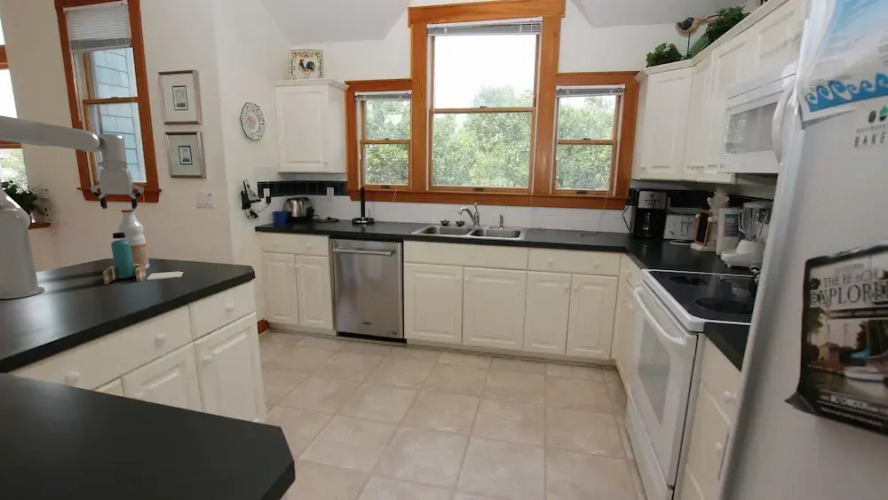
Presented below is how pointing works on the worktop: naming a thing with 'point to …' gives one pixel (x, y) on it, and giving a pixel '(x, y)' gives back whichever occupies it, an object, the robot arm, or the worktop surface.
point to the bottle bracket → (111, 275)
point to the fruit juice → (134, 236)
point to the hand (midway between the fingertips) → (119, 208)
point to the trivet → (164, 275)
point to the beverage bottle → (122, 256)
